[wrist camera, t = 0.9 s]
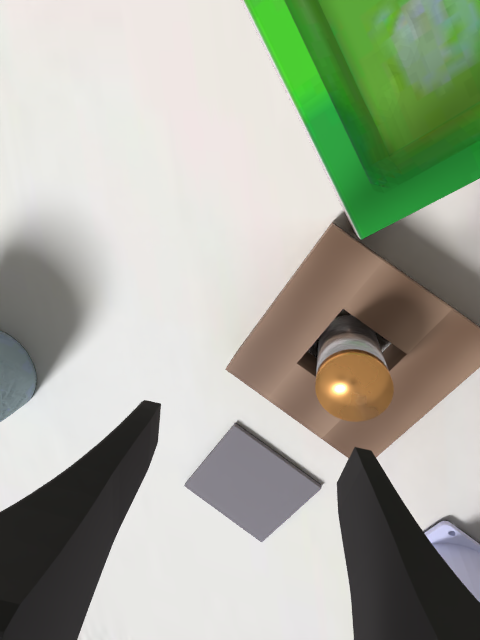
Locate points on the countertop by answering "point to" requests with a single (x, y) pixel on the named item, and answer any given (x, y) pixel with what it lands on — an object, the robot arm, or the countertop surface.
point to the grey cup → (14, 376)
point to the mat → (251, 483)
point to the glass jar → (352, 371)
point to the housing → (377, 313)
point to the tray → (381, 96)
